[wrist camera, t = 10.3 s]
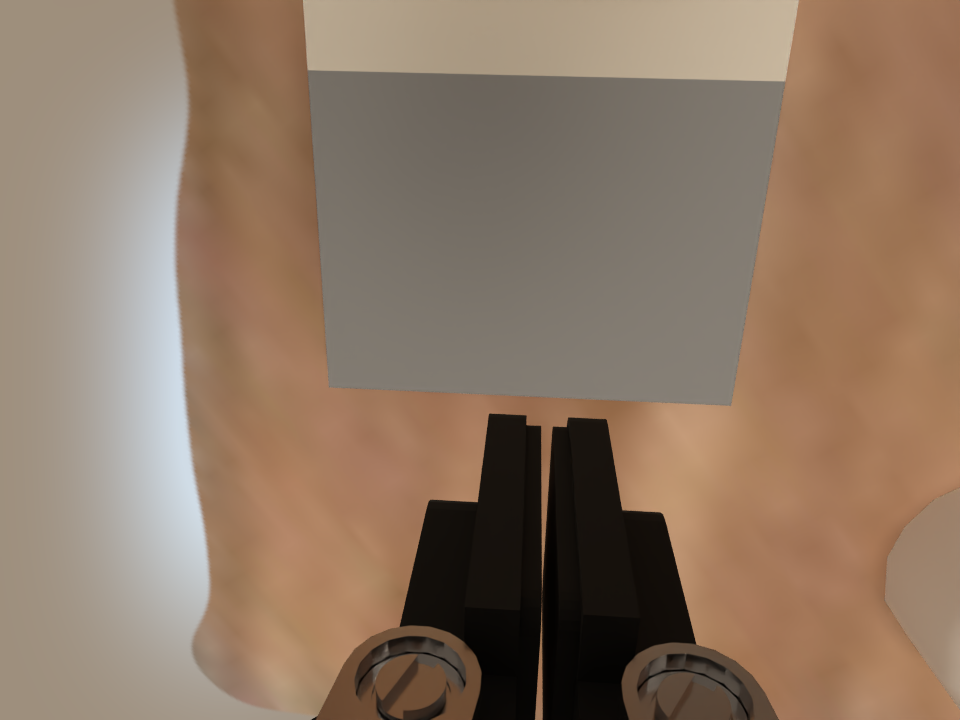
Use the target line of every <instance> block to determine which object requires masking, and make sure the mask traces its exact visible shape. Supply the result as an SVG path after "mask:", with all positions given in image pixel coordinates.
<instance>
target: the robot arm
mask: <svg viewBox="0 0 960 720" xmlns="http://www.w3.org/2000/svg"><path fill="white" fill-rule="evenodd" d="M541 609H542V670H543V720H779V719H778V717H777V715H776V713H775V711H774V709H773V708H772V706H771V704H770V702H769V700H768V698H767V696H766V694H765V692H764V691H763V690H762V688H761V687H760V685H759V684H758V683H757V681H756V680H755V678H754V677H753V676H752V675H751V674H750V673H749V672H748V671H747V670H745V669H744V668H743V667H742V666H741V665H739V664H738V663H737V662H736V661H734V660H732V659H731V658H729V657H727V656H725V655H723V654H721V653H719V652H717V651H716V650H712V649H709V648H706V647H702V646H699V645H696V641H695V637H694V633H693V629H692V625H691V621H690V617H689V613H688V609H687V605H686V601H685V597H684V593H683V589H682V585H681V581H680V577H679V573H678V569H677V565H676V561H675V557H674V553H673V549H672V545H671V541H670V537H669V533H668V529H667V525H666V522H665V519H664V516H663V514H662V513H660V512H642V511H624V510H622V507H621V501H620V495H619V489H618V483H617V477H616V471H615V465H614V459H613V453H612V447H611V441H610V435H609V429H608V423H607V420H606V419H588V418H568V421H567V427H553V430H552V444H551V460H550V475H549V491H548V506H547V522H546V537H545V553H544V568H543V587H542V524H541V426H529V425H526V415H506V414H489V418H488V426H487V434H486V442H485V450H484V458H483V466H482V474H481V482H480V489H479V497H478V502H462V501H444V500H430V501H429V503H428V506H427V510H426V514H425V518H424V523H423V527H422V531H421V536H420V540H419V545H418V549H417V553H416V558H415V562H414V566H413V571H412V575H411V579H410V584H409V588H408V593H407V597H406V601H405V606H404V610H403V614H402V619H401V623H400V627H398V628H392V629H388V630H386V631H383V632H381V633H379V634H376V635H374V636H372V637H370V638H369V639H367V640H366V641H365V642H363V643H362V644H361V645H359V646H358V647H357V648H355V649H354V651H353V652H352V654H351V655H350V656H349V658H348V659H347V660H346V662H345V663H344V665H343V667H342V669H341V671H340V673H339V675H338V677H337V679H336V681H335V683H334V685H333V687H332V689H331V691H330V693H329V695H328V697H327V699H326V701H325V703H324V705H323V707H322V708H321V710H320V712H319V714H318V716H317V717H315V718H313V719H312V720H535V711H536V695H537V680H538V665H539V649H540V633H541Z"/></svg>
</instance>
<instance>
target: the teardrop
mask: <svg viewBox="0 0 960 720" xmlns="http://www.w3.org/2000/svg"><path fill="white" fill-rule="evenodd" d="M885 602H886V603H887V605H888V606H889V608H890V610H891V611H892V613H893V614H894V616H895V618H896V619H897V621H898V622H899V624H900V625H901V627H902V629H903V630H904V632H905V633H906V635H907V636H908V638H909V639H910V641H911V642H912V643H913V645H914V646H915V648H916V649H917V650H918V652H919V653H920V655H921V656H922V658H923V659H924V660H925V662H926V663H927V665H928V666H929V667H930V669H931V670H932V672H933V673H934V674H935V676H936V677H937V679H938V680H939V681H940V683H941V684H942V686H943V687H944V688H945V690H946V691H947V693H948V694H949V695H950V697H951V698H952V700H953V701H954V702H955V704H956V705H957V707H958V708H959V709H960V488H957V489H955V490H953V491H951V492H949V493H947V494H945V495H942V496H940V497H938V498H936V499H934V500H933V501H932V502H931V503H930V504H929V505H928V506H927V507H925V508H924V509H923V510H922V511H921V512H920V513H919V514H918V515H917V516H916V517H915V518H914V519H912V520H911V521H910V522H909V523H908V524H907V525H906V526H905V527H904V529H903V531H902V533H901V534H900V536H899V538H898V539H897V541H896V543H895V545H894V546H893V548H892V550H891V552H890V553H889V555H888V557H887V571H886V586H885Z"/></svg>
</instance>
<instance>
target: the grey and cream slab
mask: <svg viewBox="0 0 960 720" xmlns="http://www.w3.org/2000/svg"><path fill="white" fill-rule="evenodd" d="M798 3H799V0H303V8H304V22H305V37H306V52H307V67H308V82H309V97H310V112H311V127H312V141H313V156H314V171H315V186H316V201H317V216H318V231H319V246H320V261H321V275H322V290H323V305H324V320H325V335H326V350H327V365H328V380H329V387H334V388H356V389H378V390H399V391H421V392H443V393H465V394H487V395H509V396H530V397H552V398H574V399H596V400H618V401H640V402H661V403H683V404H705V405H727V406H731V403H732V397H733V391H734V385H735V379H736V373H737V367H738V361H739V355H740V349H741V343H742V337H743V331H744V325H745V319H746V313H747V307H748V301H749V295H750V289H751V283H752V277H753V271H754V265H755V259H756V253H757V247H758V241H759V235H760V230H761V224H762V218H763V212H764V206H765V200H766V194H767V188H768V182H769V176H770V170H771V164H772V158H773V152H774V146H775V140H776V134H777V128H778V122H779V116H780V110H781V104H782V98H783V92H784V86H785V80H786V74H787V68H788V62H789V56H790V50H791V44H792V39H793V33H794V27H795V21H796V15H797V9H798Z"/></svg>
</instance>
